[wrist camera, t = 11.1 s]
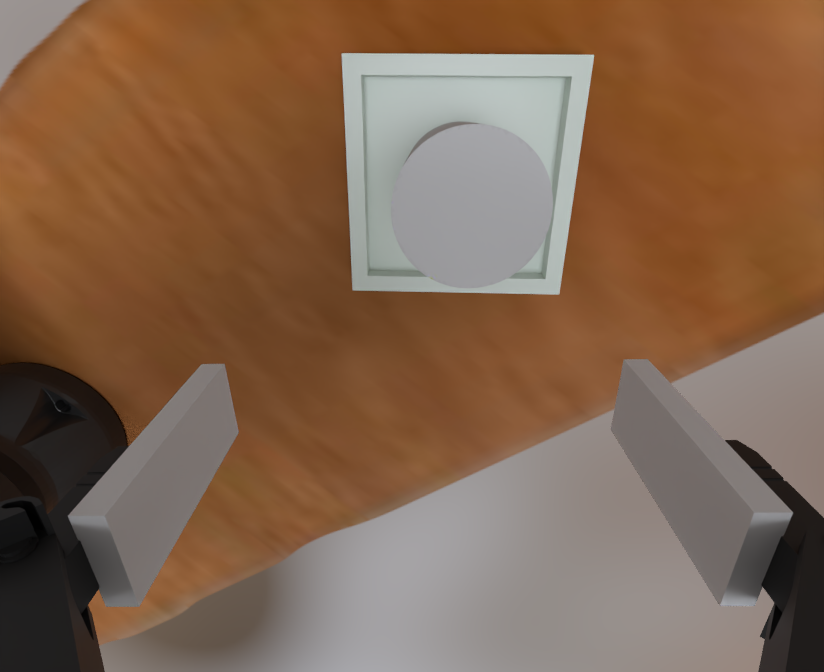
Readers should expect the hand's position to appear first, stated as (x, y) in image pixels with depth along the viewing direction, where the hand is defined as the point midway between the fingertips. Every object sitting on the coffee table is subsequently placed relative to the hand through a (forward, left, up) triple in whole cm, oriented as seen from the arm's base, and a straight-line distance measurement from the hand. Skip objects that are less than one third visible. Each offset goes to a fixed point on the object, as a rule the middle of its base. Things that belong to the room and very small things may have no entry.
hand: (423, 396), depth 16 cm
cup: (+2, +4, -23) cm, 24 cm away
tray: (+2, +4, -24) cm, 24 cm away
